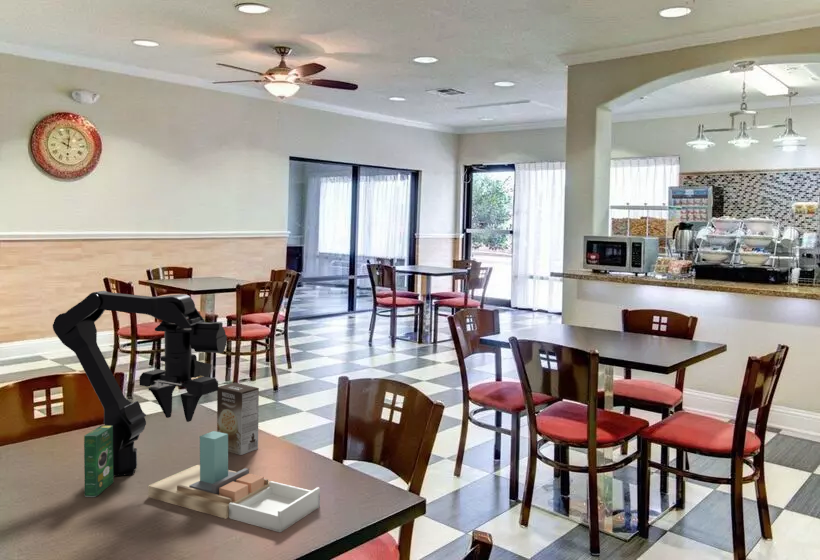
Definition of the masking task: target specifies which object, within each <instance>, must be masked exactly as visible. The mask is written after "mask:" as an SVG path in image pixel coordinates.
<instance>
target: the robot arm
mask: <svg viewBox="0 0 820 560" xmlns="http://www.w3.org/2000/svg"><path fill="white" fill-rule="evenodd" d="M105 311H111V312H112V311H113V312H121V313H130V314H139V315H140V314H141V315H142V314H143V315H147V316H151V317H153V318H154V319H156V320H160V321H161V322H160V323H159V325H157V326H156V327H155V328H154V332H164V355H162V356H161V355H160V362H164V369H159V368H157V369H152V370H148V371H144V372H142V373H141V375H140V376H139V377H138V378H139V380H138V381H139V386H142V387H147V389H148V391H150V392H151V394H152V395H153V397H154V398H155V400H156V402H157V403H158V405H159V407H160V408H161V411H162V412H163V415H164V416H165V418H167V419H169V418H171V417H172V412H173V392H174V391H175V389H176V387H182V388H185V390H186V392H183V393H180V399H181V402H182V404H181V405H182V408H183V414H184V418H185V421H186V422H187V423H189V422H190V423H191V422H192V420H193V417H194V414H195V412H196V409H197V406H198V403H199V402H200V399H201V397H203V396H204V395H208V394H210V393H214V392H217V391H218V387H219V381H218V380H217V378H216V377H215V378H214V377H210V374H211V369H212V365H213V364H211V363H207V362H203V361H198V360H197V358H198V357H197V355H196V354H193V353H192V352H193V351H192V350H194V351H195V352H196V353H210V354H211V353H215V354H222V353H224V351H225V349H226V346H227V341H228V338H227V337H228V336H227V334H226V330H225V328H224V327H223V322H222V321H215V322H206V321H205V318H204V317H202V315H201V313H200V312H199V311H198V309H197V308H196V304H195V302H194V299H192V297H191V296H190V295H188V294H184V293H183V294H182V293H181V294H170V295H160V296H159V295H158V296H149V295H148V296H147V295H138V294H128V293H119V292H110V291H107V290H100V291H95V292H94V291H93V292H91V293H89V294H88V295H87V296H86V297H85V298H84V299H82V300H81V301H79V302H78V303H77V304H75V305H74V306H72V307H71V308H69V309H68V310H67V311H66V312H63V313H59V314H58V315H57V316H56V317H55V319H54V320H53V323H52V329H53V332H54V335H56V337H57V338H58V339H59V341H60V342H61V343H62V344H63V345H64V346H65V347H67V349H69V350H71V351H72V352H73V353H74V354H75V355H76V358H77V359H78V361H79V363H80V365H81V367H82V369H83V371H84V373H85V374H86V375H85V376H87V378H88V381H89V382H90V384H91V386H92V388H93V390H94V392H95V394H96V396H97V397H98V400H99V402H100V403H101V406H102V408H103V424H104V425H110V426H113V477H118V476H119V477H120V476H131V475H134V473H135V470H136V469H137V467H138V449H137V448H136V447H135V442H136V441H137V440H139V437H140V436H141V434H142V433H143V432H144V430H145V428H146V425H147V421H146V416H147V414H146V413H144V410H142V407H141V403H140V402H139V401H138V400H136V401H133V402H131V401H130V400H128V399H127V398H126V397H125V395H124V393H123V391H122V390H121V388H120V385H119V384H118V381H117V379H116V378H115V376H114V374H113V372H112V370H111V368H110V366H109V364H108V363H107V361H106V358H105V356H104V355H103V353H102V351H101V349H100V347H99V345H98V342H97V340H98V339H97V337H98V336H97V335H98V334H97V333H98V330H97V326H96V324H95V322H96V321H98V320H99V319H100V318H101V317H102V315H103V314H104V312H105Z"/></svg>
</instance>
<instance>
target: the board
mask: <svg viewBox="0 0 820 560" xmlns="http://www.w3.org/2000/svg"><path fill="white" fill-rule="evenodd" d="M228 471H230V472H234V473H236V472H237V471H234V470H230V469H228ZM198 481H200V464H195V465H193V466H191V467H189V468H186V469H183V470H182V471H179V472H177V473H175V474H172V475H170V476H167V477H164V478H163V479H161V480H158V481H156V482H153V483H151V484H149V485H148V487H147V489H148V491H147V495H148V498H150V499H153V500H157V501H160V502H165V503H168V504H172V505H175V506H179V507H182V508H185V509H190V510H192V511H196V512H200V513H203V514H207V515H211V516H214V517H218V518H220V519H225V520H226V519H229V503H231V502H232V503H236V504H238V503H240V502H242V501H243V500H245V499H247V498H249V497H251V496H253V495H255V494H256V493H258V492H260V491H262V490H264V489H266V488H268V487H269V482H270V481H269V479H268V478H265V477H264V486H263V487H262V488H260V489H258V490H256V491H254V492H252V493H250V492H248V495H247V496H245V497H243V498H241V499H239V500H237V501H235V502H234V501H232V498H229V497H225V496H221V495H217V494H213V493H210V492H206V491H202V490H198V489H194V488H190V487H189V485H192V484H194V483H196V482H198Z"/></svg>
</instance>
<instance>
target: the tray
mask: <svg viewBox="0 0 820 560" xmlns="http://www.w3.org/2000/svg"><path fill="white" fill-rule="evenodd" d="M320 495H321V488H320V487H319V486H316V487H315V488H314V489H312V490H311V489H306V488H302V487H298V486H294V485H290V484H285V483H282V482H277V481H272V480H270V481H269V487H268V488H266V489H264V490H262V491H260V492H258V493H256V494H255V495H253V496H251V497H249V498H247V499H245V500H243V501H242V502H240V503H238V504H236V503H232V502H231V503H229V517H228V519H231V520H235V521H238V522H240V523H241V522H242V523H244V524H249V525H252V526H256V527H259V528H262V529H263V528H264V529H267V530H271V531H274V532H278V533H282V532H283V531H285V530H286V529H288V528H289V527H291V526H292V525H294V524H296V523H297V522H298V521H301V519H303V518H304V517H307V516H308V515H309V514H311V513H312V512H314V511H315V510H317V509H318V508H320V503H321V501H320V500H321V496H320Z"/></svg>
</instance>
